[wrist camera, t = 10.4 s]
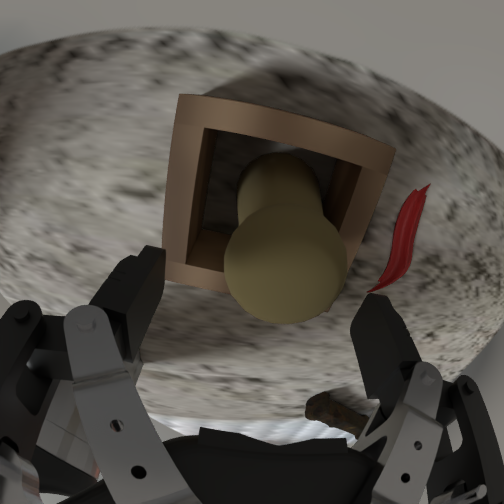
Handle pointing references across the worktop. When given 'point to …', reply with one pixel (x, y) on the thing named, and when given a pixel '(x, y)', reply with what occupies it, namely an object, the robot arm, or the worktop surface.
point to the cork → (283, 243)
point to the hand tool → (335, 414)
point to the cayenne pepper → (403, 238)
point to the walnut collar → (271, 128)
